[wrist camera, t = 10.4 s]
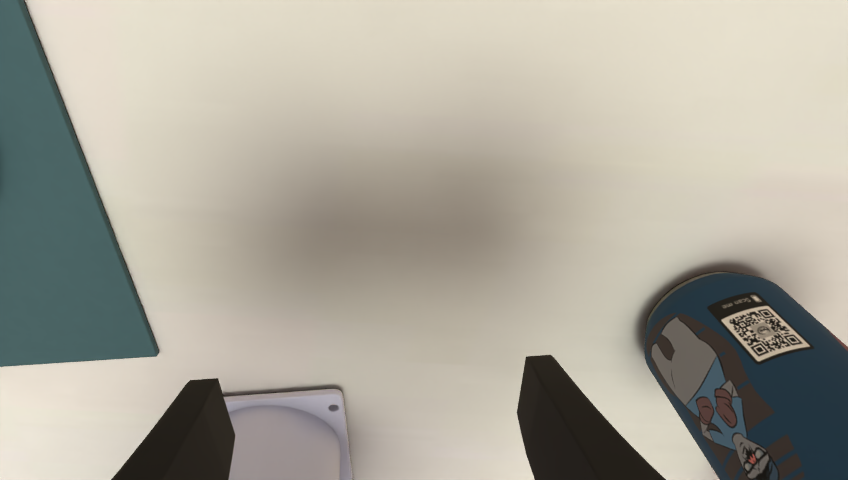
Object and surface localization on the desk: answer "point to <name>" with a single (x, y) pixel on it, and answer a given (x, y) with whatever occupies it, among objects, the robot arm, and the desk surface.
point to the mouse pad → (54, 225)
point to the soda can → (752, 378)
